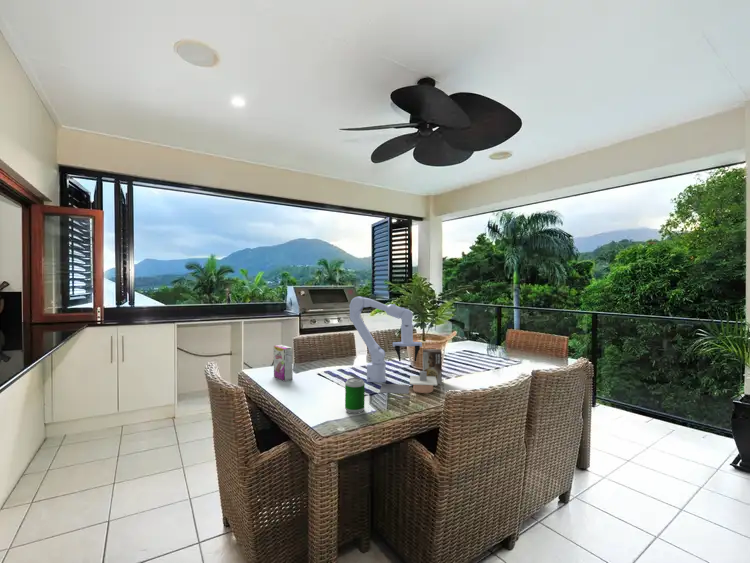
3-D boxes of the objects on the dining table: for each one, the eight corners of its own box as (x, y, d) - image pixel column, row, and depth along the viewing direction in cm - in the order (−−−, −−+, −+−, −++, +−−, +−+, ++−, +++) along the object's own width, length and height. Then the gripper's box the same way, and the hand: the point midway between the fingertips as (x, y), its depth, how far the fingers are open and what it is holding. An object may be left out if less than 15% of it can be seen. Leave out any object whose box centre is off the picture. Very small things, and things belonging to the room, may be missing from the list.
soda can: (368, 410, 137) (368, 379, 137) (354, 416, 131) (354, 384, 131) (354, 405, 142) (354, 376, 142) (341, 410, 136) (341, 380, 136)
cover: (409, 384, 156) (409, 375, 156) (410, 376, 168) (410, 368, 168) (437, 385, 154) (437, 376, 154) (435, 377, 166) (435, 369, 166)
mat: (379, 393, 157) (379, 392, 157) (382, 384, 170) (382, 383, 170) (408, 394, 155) (408, 393, 155) (409, 385, 168) (409, 384, 168)
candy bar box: (273, 377, 182) (273, 345, 182) (281, 375, 186) (281, 344, 186) (284, 381, 174) (284, 348, 174) (293, 379, 178) (293, 347, 178)
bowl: (413, 393, 157) (413, 383, 157) (413, 387, 166) (413, 377, 166) (433, 394, 156) (433, 384, 156) (432, 388, 165) (432, 378, 165)
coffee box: (440, 381, 176) (441, 349, 176) (441, 385, 170) (442, 351, 170) (422, 380, 177) (422, 348, 177) (422, 384, 171) (423, 351, 171)
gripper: (392, 335, 172) (392, 362, 172) (421, 334, 170) (422, 362, 170) (392, 332, 179) (393, 359, 179) (421, 332, 177) (422, 359, 177)
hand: (407, 361), depth 175 cm, fingers open, 7 cm apart
